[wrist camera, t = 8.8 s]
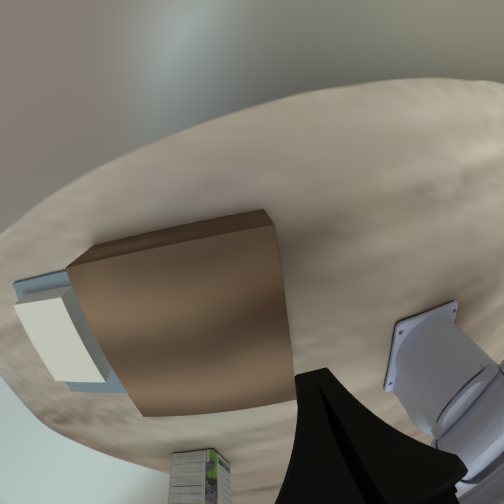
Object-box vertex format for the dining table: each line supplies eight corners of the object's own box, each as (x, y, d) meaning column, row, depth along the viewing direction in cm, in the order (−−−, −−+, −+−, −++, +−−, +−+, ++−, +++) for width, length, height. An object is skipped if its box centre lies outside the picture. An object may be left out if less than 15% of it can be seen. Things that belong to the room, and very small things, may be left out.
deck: (286, 364, 22) (296, 399, 18) (151, 383, 21) (143, 416, 18) (263, 209, 17) (274, 224, 13) (92, 246, 17) (65, 268, 13)
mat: (149, 388, 22) (149, 392, 21) (72, 388, 21) (71, 391, 21) (92, 263, 17) (90, 265, 17) (15, 282, 17) (12, 283, 17)
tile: (56, 380, 18) (63, 367, 20) (105, 382, 18) (112, 366, 20) (13, 304, 15) (25, 293, 17) (61, 297, 15) (73, 285, 17)
